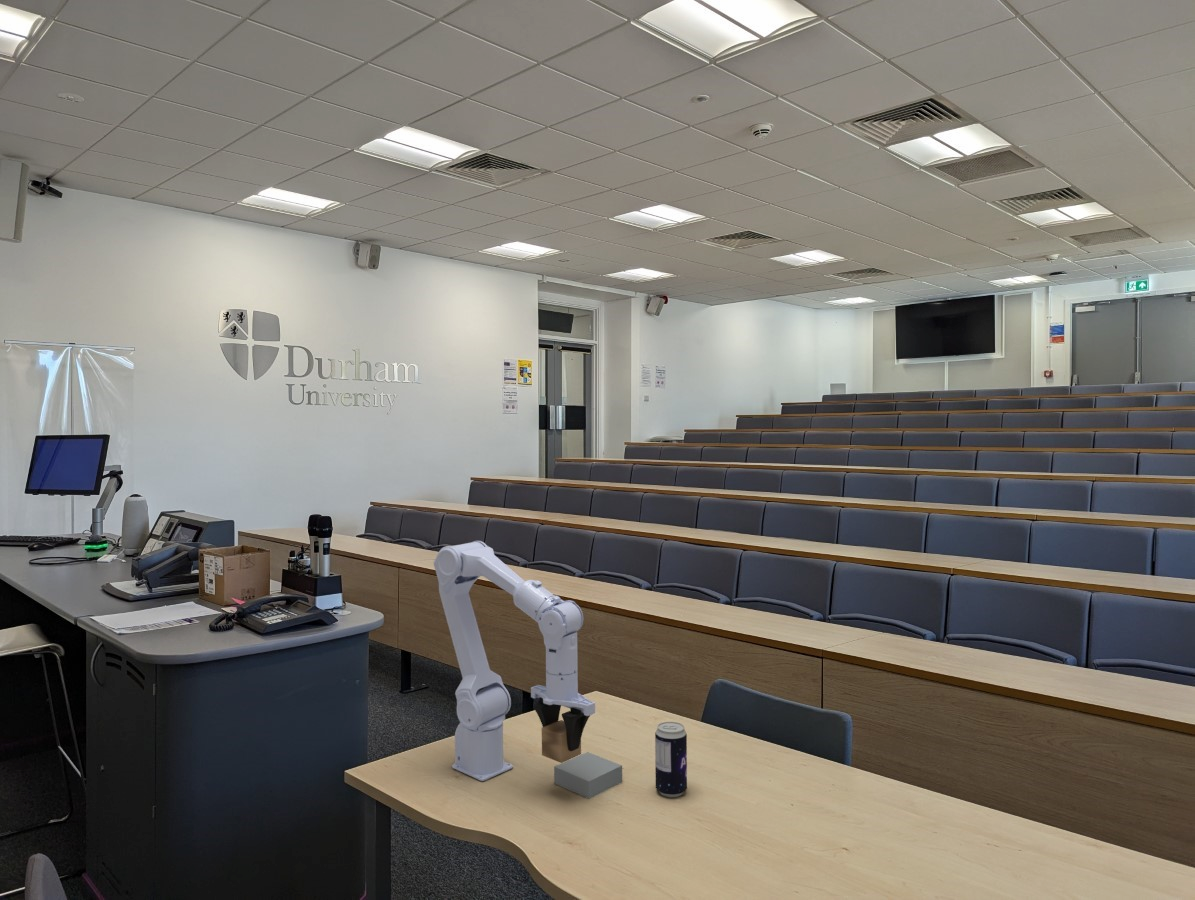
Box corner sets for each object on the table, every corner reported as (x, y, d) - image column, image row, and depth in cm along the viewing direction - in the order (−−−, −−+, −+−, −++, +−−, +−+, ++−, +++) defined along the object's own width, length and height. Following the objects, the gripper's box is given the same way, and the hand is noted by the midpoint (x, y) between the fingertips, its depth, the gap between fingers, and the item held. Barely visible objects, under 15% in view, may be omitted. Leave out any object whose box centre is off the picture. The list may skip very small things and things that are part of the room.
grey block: (554, 785, 146) (554, 766, 146) (587, 769, 153) (587, 751, 152) (588, 800, 140) (588, 781, 140) (622, 783, 146) (622, 765, 146)
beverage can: (685, 800, 139) (685, 733, 138) (653, 797, 140) (653, 731, 140) (688, 786, 144) (687, 721, 144) (657, 783, 145) (657, 719, 145)
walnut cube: (541, 755, 141) (541, 727, 141) (561, 746, 145) (561, 719, 145) (561, 763, 138) (561, 734, 138) (581, 754, 141) (580, 726, 141)
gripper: (518, 667, 143) (519, 741, 143) (575, 684, 133) (576, 763, 134) (546, 658, 148) (547, 729, 149) (602, 674, 138) (603, 750, 139)
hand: (562, 745), depth 141 cm, fingers closed on walnut cube, 5 cm apart
